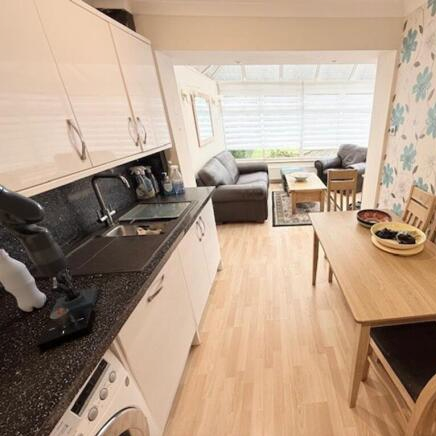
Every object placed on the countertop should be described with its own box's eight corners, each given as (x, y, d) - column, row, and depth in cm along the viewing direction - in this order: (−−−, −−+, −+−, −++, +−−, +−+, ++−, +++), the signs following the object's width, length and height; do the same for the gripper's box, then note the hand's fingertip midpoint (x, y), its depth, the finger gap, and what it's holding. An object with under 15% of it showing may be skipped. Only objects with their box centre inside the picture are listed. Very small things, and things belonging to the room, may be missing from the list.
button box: (52, 321, 83) (46, 312, 81) (60, 302, 91) (55, 294, 89) (94, 306, 88) (89, 298, 86) (98, 290, 96) (94, 283, 94)
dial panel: (41, 351, 72) (36, 344, 71) (52, 327, 80) (47, 321, 79) (90, 333, 77) (85, 326, 76) (95, 312, 85) (91, 306, 84)
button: (65, 305, 86) (63, 301, 85) (68, 298, 89) (66, 295, 89) (79, 301, 88) (77, 297, 87) (82, 294, 91) (79, 291, 90)
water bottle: (39, 298, 94) (2, 244, 83) (53, 300, 93) (17, 245, 82) (17, 312, 88) (-26, 256, 77) (32, 314, 86) (-10, 258, 76)
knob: (73, 325, 77) (66, 313, 75) (56, 332, 75) (47, 320, 73) (76, 316, 80) (68, 304, 78) (59, 322, 78) (51, 311, 76)
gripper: (56, 263, 76) (80, 303, 84) (68, 245, 87) (88, 282, 95) (25, 272, 73) (53, 312, 81) (41, 252, 84) (64, 289, 92)
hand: (72, 296), depth 88 cm, fingers closed
